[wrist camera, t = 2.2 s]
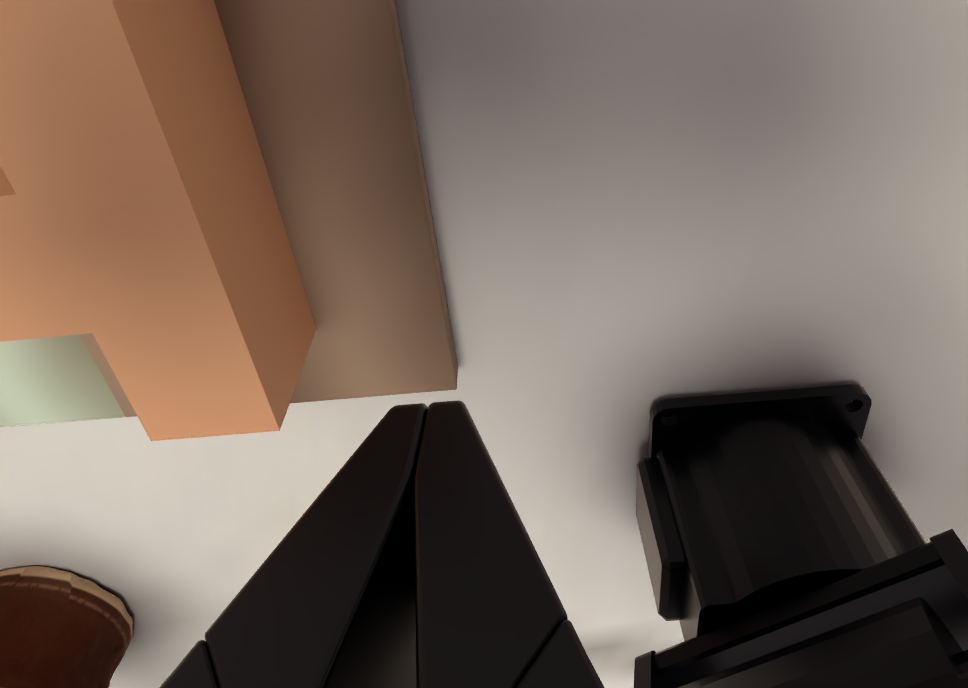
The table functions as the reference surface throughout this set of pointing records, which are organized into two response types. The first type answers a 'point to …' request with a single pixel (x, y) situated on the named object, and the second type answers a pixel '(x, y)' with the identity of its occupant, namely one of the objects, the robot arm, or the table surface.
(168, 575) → the table surface
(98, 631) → the coffee cup
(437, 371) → the board
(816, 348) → the table surface
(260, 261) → the tee block
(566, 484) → the table surface
